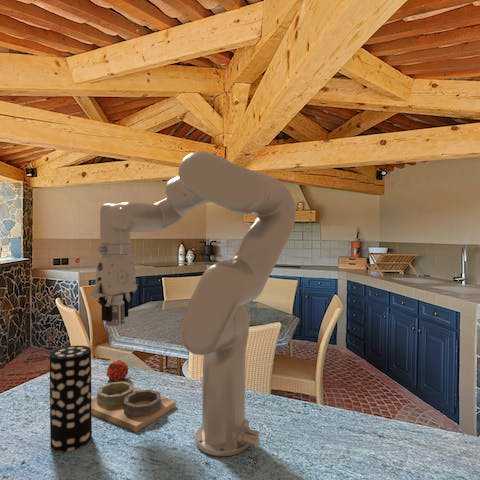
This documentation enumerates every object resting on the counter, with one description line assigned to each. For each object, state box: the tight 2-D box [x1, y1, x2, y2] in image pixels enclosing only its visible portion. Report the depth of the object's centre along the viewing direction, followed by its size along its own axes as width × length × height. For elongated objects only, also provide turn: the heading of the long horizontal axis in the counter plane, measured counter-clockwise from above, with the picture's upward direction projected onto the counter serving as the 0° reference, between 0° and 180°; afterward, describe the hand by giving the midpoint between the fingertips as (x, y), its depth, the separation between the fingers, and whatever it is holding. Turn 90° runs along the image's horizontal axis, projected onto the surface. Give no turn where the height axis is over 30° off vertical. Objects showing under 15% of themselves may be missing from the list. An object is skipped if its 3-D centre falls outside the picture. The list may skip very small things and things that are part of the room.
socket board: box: [91, 380, 177, 433], centre depth 95 cm, size 20×14×4 cm
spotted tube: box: [49, 345, 93, 453], centre depth 80 cm, size 8×8×20 cm
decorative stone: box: [106, 359, 129, 382], centre depth 113 cm, size 6×7×8 cm
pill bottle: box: [105, 293, 126, 328], centre depth 96 cm, size 5×5×8 cm
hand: (115, 317), depth 96 cm, fingers closed on pill bottle, 4 cm apart
